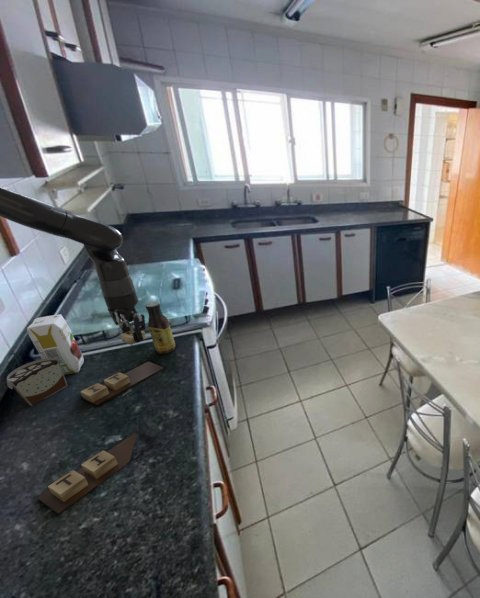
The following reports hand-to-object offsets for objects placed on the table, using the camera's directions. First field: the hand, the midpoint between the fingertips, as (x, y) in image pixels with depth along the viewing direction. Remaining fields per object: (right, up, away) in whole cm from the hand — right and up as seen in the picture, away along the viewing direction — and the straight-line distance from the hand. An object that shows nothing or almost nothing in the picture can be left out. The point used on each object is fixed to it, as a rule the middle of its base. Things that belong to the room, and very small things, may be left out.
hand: (134, 339), depth 105 cm
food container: (-23, -16, -6) cm, 29 cm away
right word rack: (-4, -14, +1) cm, 15 cm away
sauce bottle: (-3, -7, +19) cm, 20 cm away
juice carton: (-26, -11, +5) cm, 28 cm away
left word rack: (+14, -28, -26) cm, 41 cm away
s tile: (0, 0, 0) cm, 0 cm away
